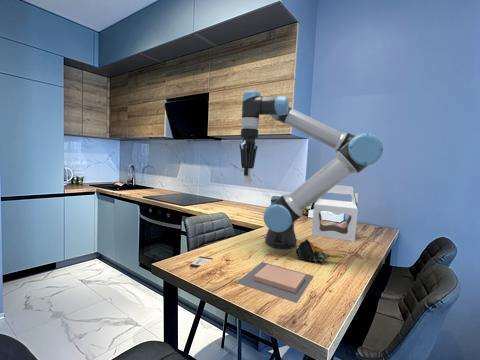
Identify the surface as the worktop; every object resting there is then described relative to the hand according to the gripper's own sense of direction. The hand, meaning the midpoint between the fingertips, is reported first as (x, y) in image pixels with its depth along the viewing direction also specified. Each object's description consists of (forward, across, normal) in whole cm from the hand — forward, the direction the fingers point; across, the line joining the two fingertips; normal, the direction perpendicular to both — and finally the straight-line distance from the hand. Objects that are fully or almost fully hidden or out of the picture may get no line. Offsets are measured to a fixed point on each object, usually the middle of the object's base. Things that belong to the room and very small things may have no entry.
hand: (246, 183), depth 113 cm
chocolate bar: (+30, +22, +1) cm, 37 cm away
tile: (+28, +20, +18) cm, 39 cm away
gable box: (+30, -48, +30) cm, 64 cm away
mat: (+29, +20, +24) cm, 43 cm away
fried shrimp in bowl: (+30, -6, +32) cm, 44 cm away
